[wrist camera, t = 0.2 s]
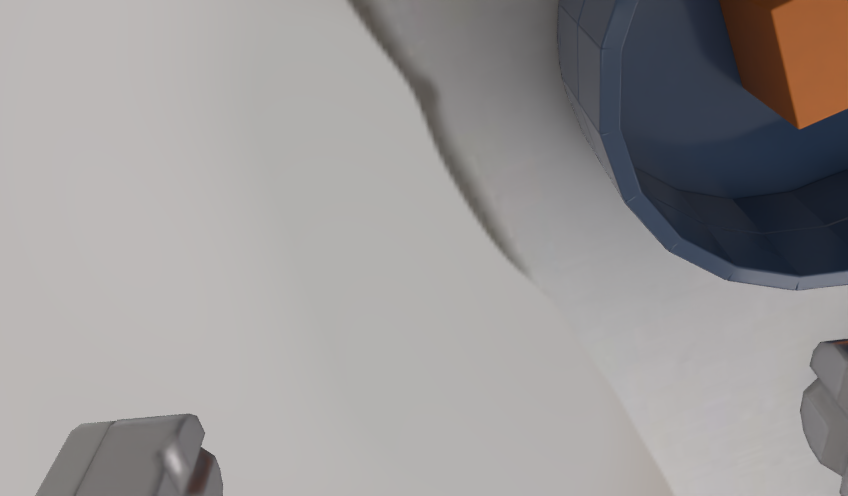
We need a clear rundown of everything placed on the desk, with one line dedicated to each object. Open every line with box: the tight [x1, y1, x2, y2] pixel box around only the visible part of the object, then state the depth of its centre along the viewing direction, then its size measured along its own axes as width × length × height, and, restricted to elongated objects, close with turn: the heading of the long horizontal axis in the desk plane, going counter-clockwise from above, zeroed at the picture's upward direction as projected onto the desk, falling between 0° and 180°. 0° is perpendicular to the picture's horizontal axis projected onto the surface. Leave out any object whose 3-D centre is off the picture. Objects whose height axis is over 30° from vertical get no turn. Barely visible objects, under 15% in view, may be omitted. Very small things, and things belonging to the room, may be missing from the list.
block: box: [719, 0, 848, 129], centre depth 21 cm, size 4×4×4 cm
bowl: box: [557, 0, 848, 291], centre depth 21 cm, size 15×15×6 cm
